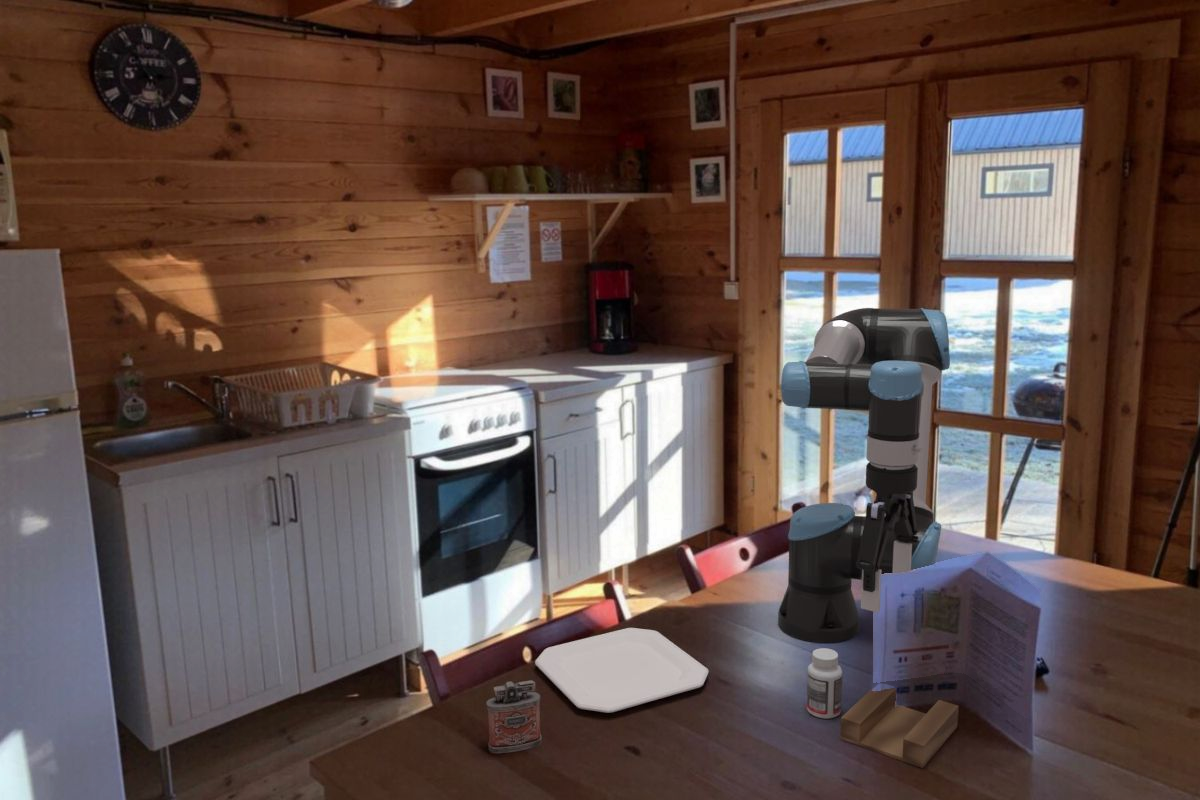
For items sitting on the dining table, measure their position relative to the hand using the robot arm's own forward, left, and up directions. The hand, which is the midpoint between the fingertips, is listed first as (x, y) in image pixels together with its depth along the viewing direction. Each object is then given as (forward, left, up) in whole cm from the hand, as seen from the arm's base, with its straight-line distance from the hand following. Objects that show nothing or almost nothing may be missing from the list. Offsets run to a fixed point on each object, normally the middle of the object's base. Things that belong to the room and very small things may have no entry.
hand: (886, 595), depth 151 cm
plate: (-39, -17, -19) cm, 47 cm away
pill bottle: (-6, -7, -19) cm, 21 cm away
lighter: (-38, -44, -19) cm, 62 cm away
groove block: (+6, -6, -19) cm, 21 cm away
